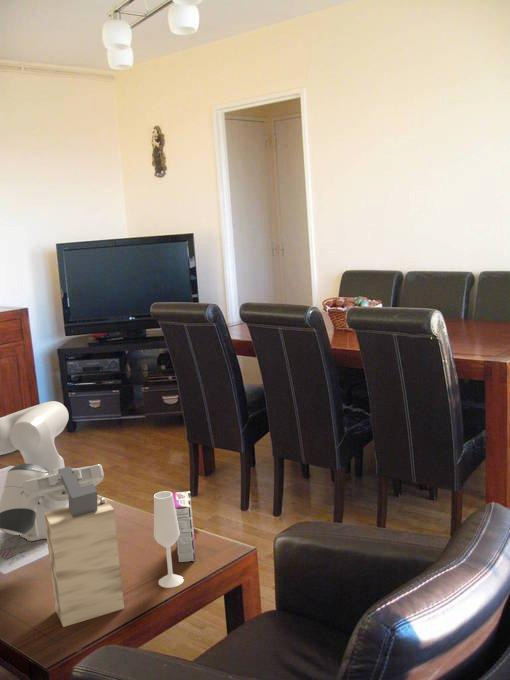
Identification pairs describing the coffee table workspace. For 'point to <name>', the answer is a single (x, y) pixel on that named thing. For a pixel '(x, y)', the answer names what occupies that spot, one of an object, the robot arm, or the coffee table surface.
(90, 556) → the pedestal
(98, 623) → the coffee table surface
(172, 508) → the champagne flute
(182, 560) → the candy bar box
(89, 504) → the t handle
